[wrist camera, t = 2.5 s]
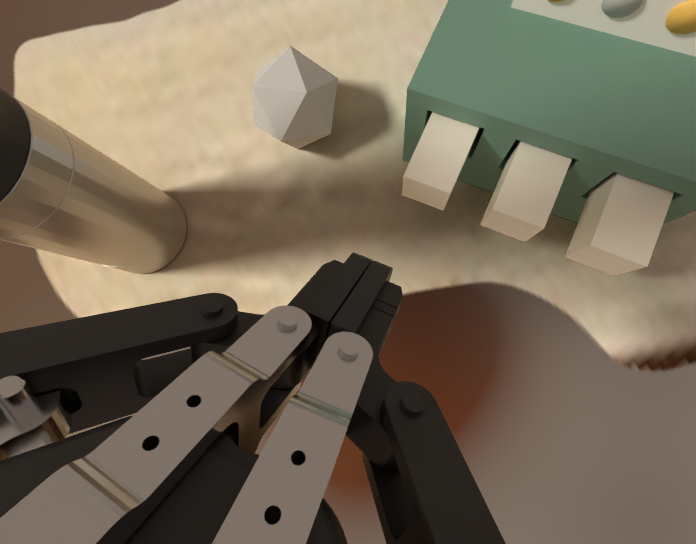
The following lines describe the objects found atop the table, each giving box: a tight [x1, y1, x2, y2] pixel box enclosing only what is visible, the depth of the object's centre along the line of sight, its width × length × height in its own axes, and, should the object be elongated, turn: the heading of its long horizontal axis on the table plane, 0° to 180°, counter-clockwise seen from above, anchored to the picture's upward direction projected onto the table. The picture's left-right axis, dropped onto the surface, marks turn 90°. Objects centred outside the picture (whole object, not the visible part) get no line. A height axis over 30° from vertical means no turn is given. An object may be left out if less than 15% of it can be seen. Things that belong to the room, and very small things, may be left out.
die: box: [252, 46, 338, 149], centre depth 36 cm, size 8×9×10 cm
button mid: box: [480, 141, 572, 242], centre depth 28 cm, size 4×6×4 cm, turn 155°
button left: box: [402, 112, 479, 211], centre depth 30 cm, size 4×6×4 cm, turn 155°
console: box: [403, 0, 696, 224], centre depth 28 cm, size 22×10×16 cm, turn 65°
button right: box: [565, 173, 674, 276], centre depth 27 cm, size 4×6×4 cm, turn 155°
